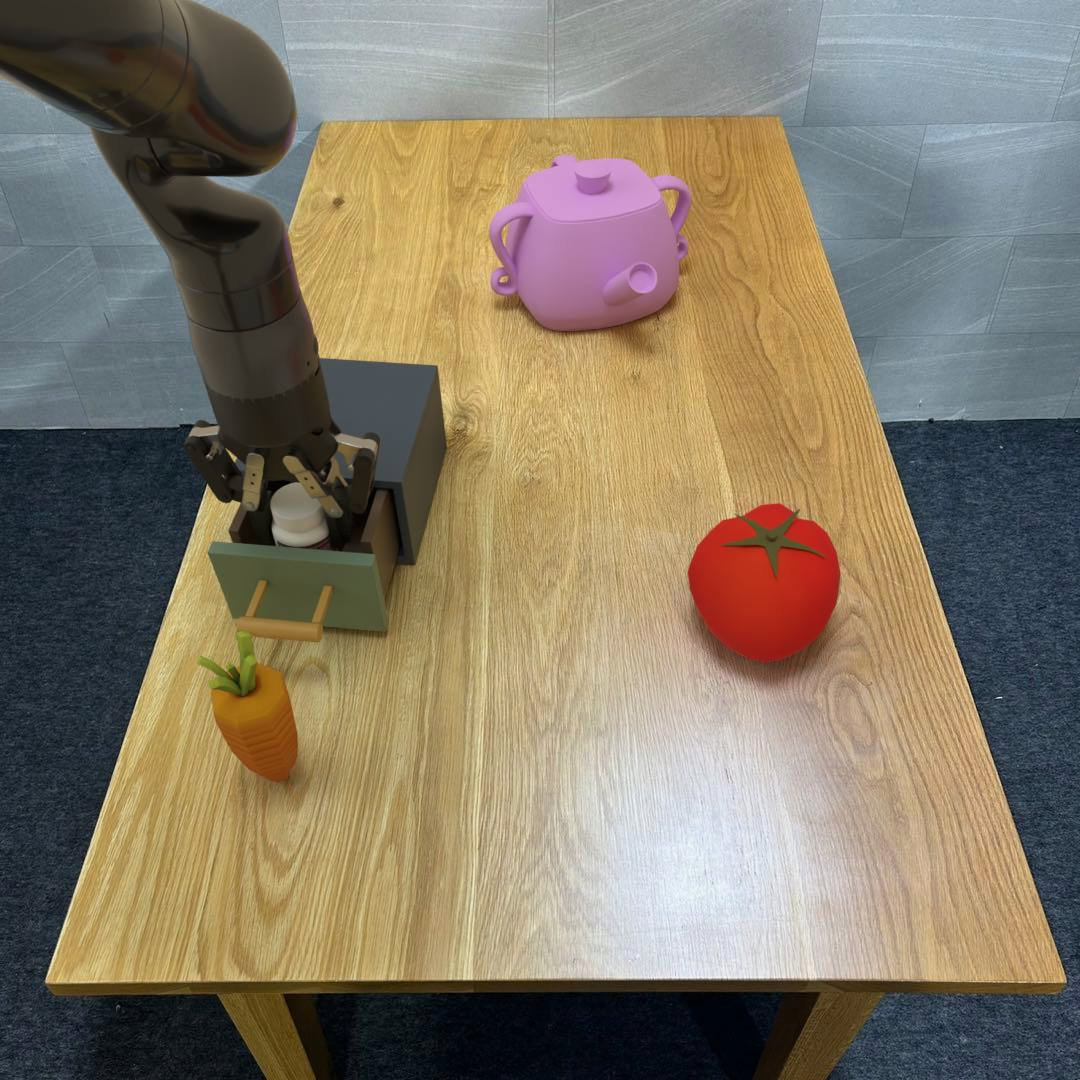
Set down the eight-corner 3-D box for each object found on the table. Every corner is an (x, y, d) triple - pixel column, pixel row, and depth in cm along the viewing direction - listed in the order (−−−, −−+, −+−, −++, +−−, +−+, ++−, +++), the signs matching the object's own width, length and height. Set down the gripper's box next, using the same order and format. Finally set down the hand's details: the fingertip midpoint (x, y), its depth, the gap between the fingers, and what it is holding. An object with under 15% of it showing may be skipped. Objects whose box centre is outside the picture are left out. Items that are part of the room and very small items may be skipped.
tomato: (824, 568, 85) (849, 478, 78) (826, 696, 77) (855, 609, 69) (688, 553, 87) (699, 463, 79) (675, 677, 78) (687, 589, 71)
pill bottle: (357, 579, 82) (341, 505, 76) (303, 606, 80) (281, 532, 74) (331, 543, 85) (312, 468, 78) (277, 569, 83) (254, 494, 77)
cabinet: (415, 565, 86) (401, 482, 79) (257, 552, 88) (230, 469, 81) (447, 448, 96) (437, 365, 89) (305, 437, 97) (285, 355, 90)
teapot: (562, 227, 122) (561, 107, 112) (723, 277, 114) (739, 153, 104) (470, 308, 111) (460, 184, 101) (641, 369, 103) (650, 242, 93)
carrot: (269, 824, 70) (214, 699, 59) (232, 775, 73) (173, 648, 62) (330, 780, 73) (288, 653, 62) (292, 735, 75) (246, 605, 64)
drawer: (370, 684, 77) (355, 619, 71) (211, 669, 78) (183, 603, 73) (420, 509, 89) (410, 441, 84) (281, 498, 91) (262, 431, 85)
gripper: (130, 387, 65) (200, 567, 77) (353, 402, 63) (388, 583, 76) (174, 317, 70) (233, 496, 82) (380, 330, 69) (409, 510, 81)
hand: (307, 537), depth 79 cm, fingers closed on pill bottle, 4 cm apart
